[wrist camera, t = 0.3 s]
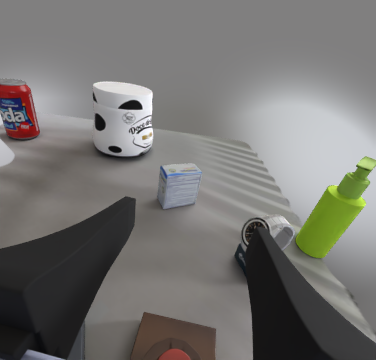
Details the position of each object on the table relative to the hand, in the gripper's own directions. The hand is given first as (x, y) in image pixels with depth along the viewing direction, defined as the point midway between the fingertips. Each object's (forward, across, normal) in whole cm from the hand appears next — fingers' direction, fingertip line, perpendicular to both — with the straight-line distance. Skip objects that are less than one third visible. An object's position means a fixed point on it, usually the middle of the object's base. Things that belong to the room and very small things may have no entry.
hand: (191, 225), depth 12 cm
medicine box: (+30, +4, +20) cm, 36 cm away
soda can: (+43, +54, +18) cm, 71 cm away
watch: (+17, -12, +20) cm, 29 cm away
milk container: (+49, +25, +18) cm, 58 cm away
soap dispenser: (+25, -24, +20) cm, 40 cm away
